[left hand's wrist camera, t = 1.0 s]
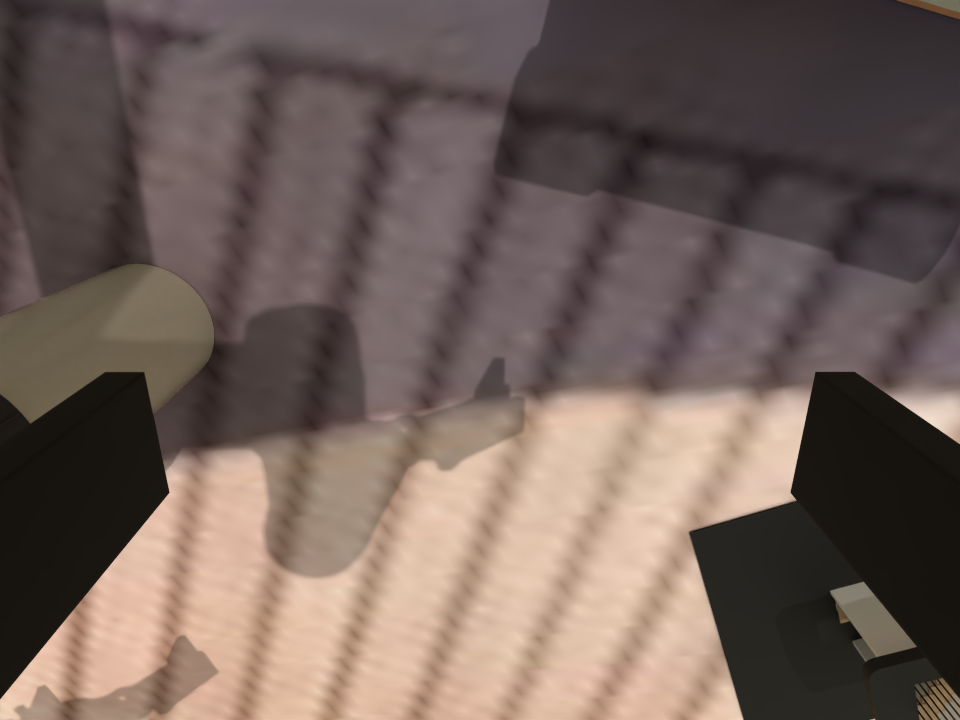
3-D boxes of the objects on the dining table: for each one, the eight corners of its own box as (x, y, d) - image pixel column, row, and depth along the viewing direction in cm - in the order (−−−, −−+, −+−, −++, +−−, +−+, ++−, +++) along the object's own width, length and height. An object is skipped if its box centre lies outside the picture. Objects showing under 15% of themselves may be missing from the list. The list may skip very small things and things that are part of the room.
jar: (59, 282, 40) (-274, 416, 22) (182, 248, 39) (-63, 359, 22) (120, 398, 43) (-133, 598, 25) (234, 369, 42) (57, 554, 25)
